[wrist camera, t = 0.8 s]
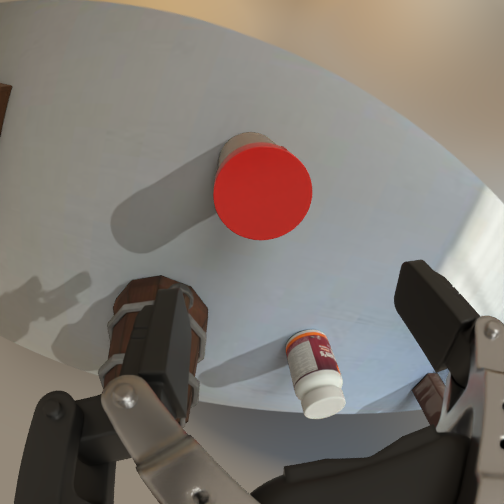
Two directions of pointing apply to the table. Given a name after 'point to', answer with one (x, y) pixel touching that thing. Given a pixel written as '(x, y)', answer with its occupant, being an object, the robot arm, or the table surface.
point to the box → (430, 397)
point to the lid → (262, 191)
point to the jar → (241, 143)
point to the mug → (124, 319)
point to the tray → (3, 101)
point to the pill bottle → (315, 374)
